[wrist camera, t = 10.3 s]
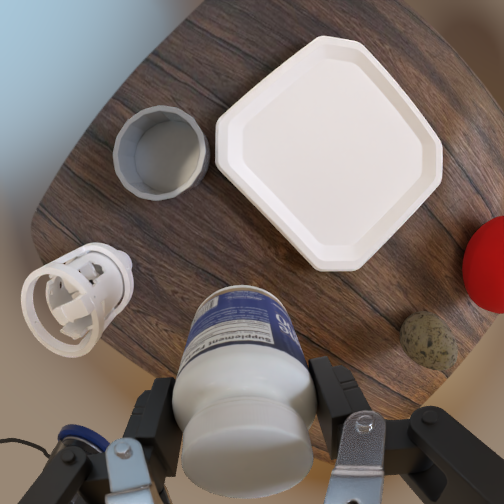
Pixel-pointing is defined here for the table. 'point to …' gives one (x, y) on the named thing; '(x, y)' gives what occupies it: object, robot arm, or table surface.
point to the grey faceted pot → (161, 153)
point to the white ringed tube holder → (80, 295)
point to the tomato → (486, 266)
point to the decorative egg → (428, 341)
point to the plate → (330, 153)
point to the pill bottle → (244, 397)
